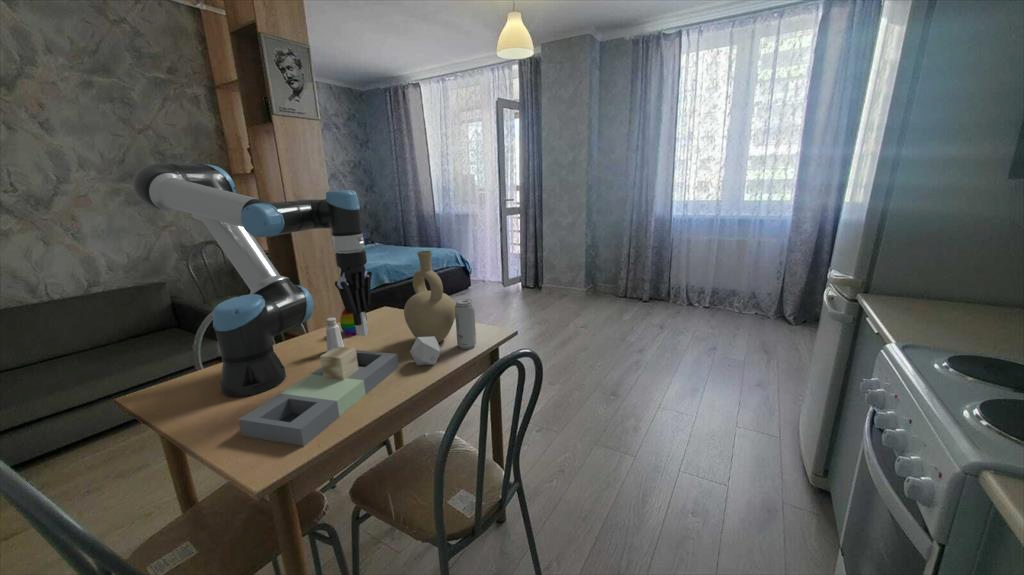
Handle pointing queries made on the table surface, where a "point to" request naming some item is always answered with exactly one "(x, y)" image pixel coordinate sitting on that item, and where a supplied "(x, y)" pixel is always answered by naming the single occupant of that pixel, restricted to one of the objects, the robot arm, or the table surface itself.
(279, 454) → the table surface
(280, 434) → the board
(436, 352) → the die
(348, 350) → the birch block
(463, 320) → the energy drink can
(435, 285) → the vase
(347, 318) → the decorative egg
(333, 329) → the pepper shaker
